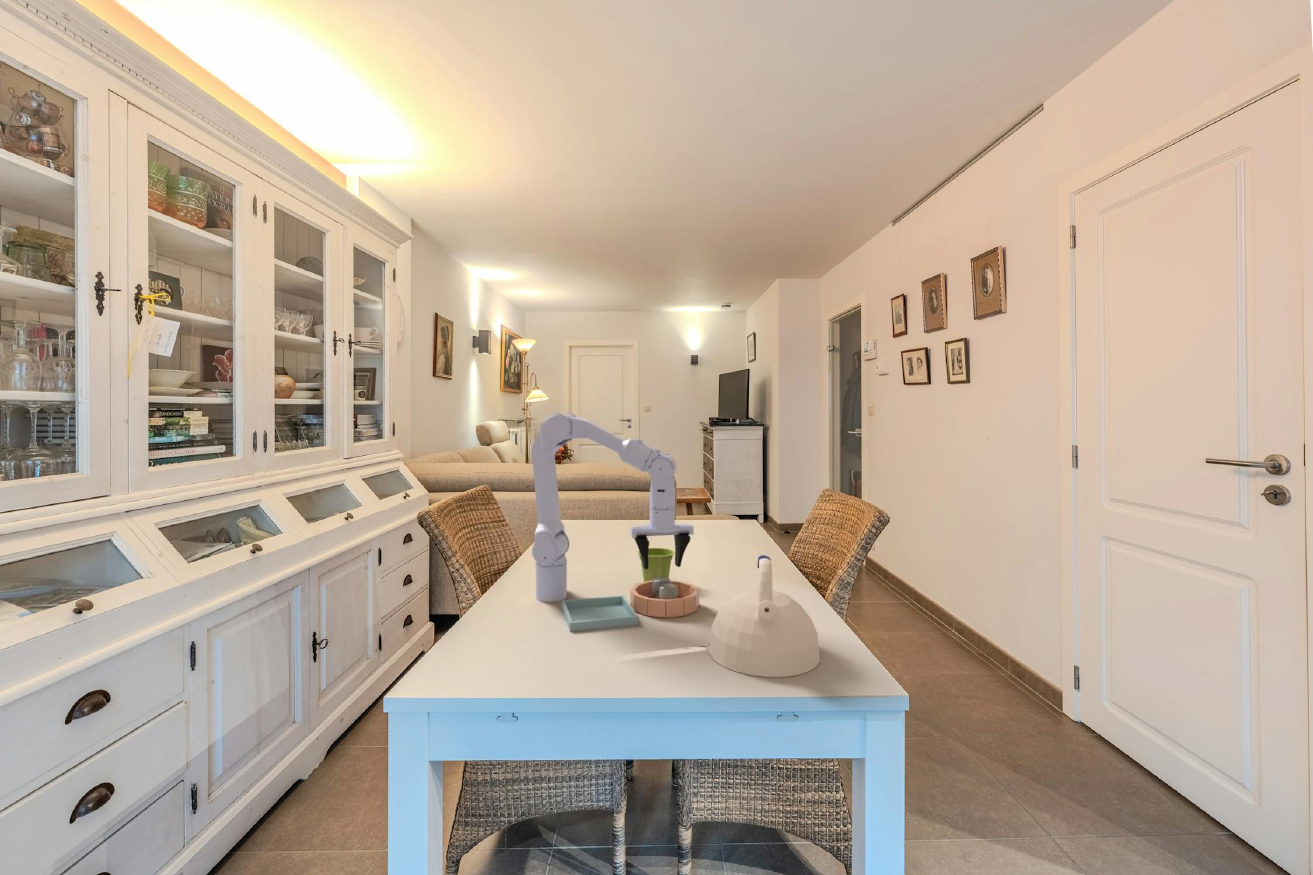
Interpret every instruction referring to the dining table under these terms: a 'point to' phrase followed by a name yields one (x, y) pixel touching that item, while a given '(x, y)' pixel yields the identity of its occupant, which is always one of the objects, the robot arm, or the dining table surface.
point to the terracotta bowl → (664, 600)
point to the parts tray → (598, 613)
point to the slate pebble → (668, 591)
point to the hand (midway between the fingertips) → (661, 566)
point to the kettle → (764, 632)
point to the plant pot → (657, 563)
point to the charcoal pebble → (657, 583)
